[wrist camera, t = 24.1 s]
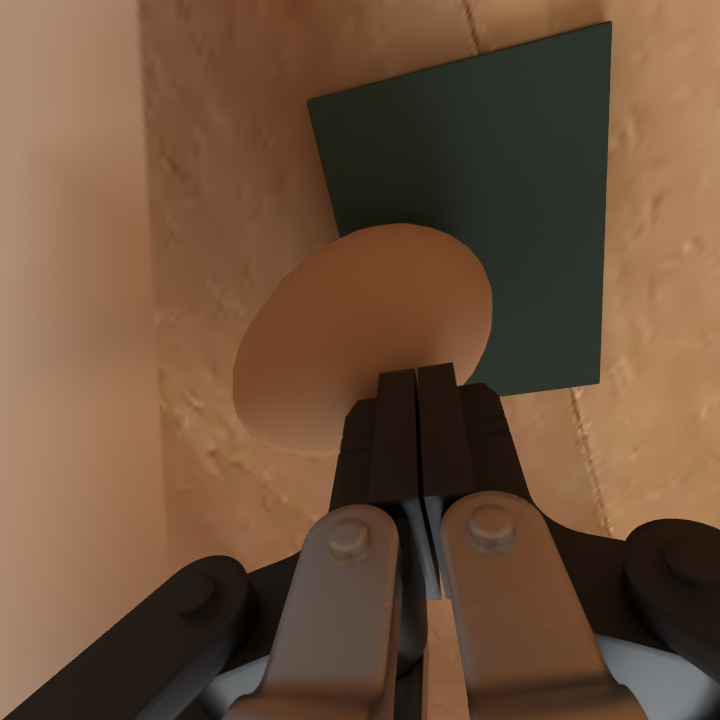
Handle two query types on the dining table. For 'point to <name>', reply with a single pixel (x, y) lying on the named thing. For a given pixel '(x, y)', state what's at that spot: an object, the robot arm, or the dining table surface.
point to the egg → (357, 331)
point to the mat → (494, 188)
